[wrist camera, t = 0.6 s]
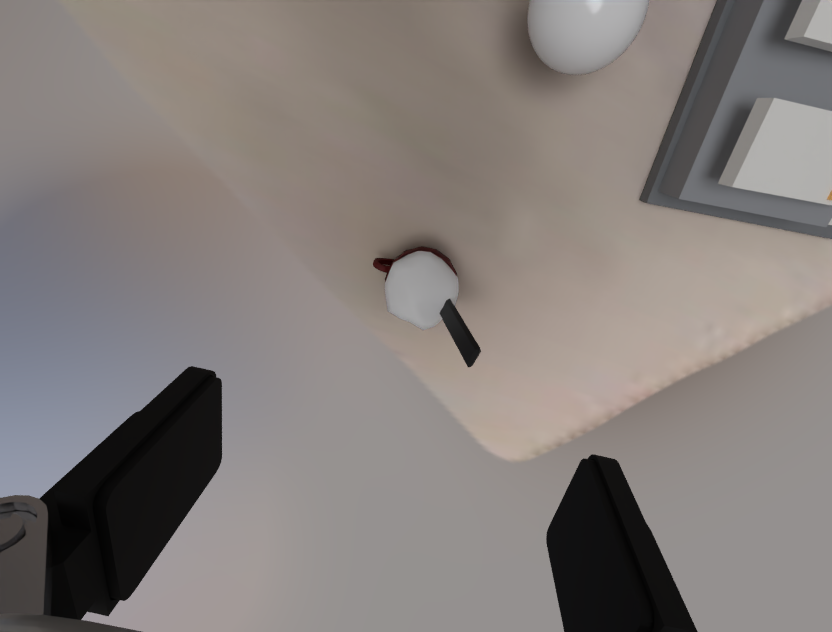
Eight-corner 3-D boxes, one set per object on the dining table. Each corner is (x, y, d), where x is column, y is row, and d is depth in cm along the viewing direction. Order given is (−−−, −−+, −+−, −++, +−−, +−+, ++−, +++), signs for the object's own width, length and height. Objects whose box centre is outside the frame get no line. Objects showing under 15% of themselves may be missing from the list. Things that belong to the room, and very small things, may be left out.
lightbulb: (545, -38, 30) (587, -119, 20) (622, 10, 30) (701, -44, 20) (496, 58, 32) (512, 30, 22) (568, 100, 33) (615, 92, 23)
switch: (757, 98, 26) (777, 97, 24) (876, 125, 27) (901, 126, 26) (717, 183, 28) (734, 187, 26) (830, 204, 29) (851, 209, 28)
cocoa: (371, 260, 40) (328, 311, 29) (419, 214, 38) (391, 251, 27) (440, 330, 42) (423, 402, 31) (489, 291, 40) (490, 354, 29)
